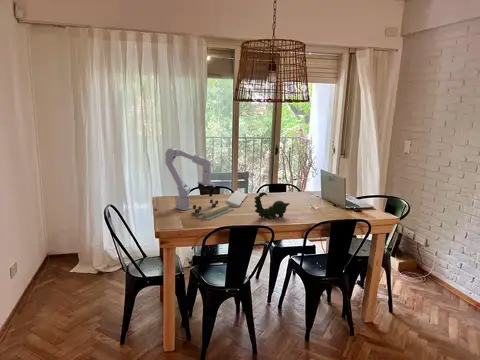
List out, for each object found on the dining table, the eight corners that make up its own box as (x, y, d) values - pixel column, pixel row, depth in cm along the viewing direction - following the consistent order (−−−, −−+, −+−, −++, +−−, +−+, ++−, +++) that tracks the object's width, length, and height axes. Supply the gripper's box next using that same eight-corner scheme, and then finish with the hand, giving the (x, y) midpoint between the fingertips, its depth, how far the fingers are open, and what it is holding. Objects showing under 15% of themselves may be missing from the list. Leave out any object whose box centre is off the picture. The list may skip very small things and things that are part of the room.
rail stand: (191, 214, 239) (191, 205, 238) (212, 206, 259) (212, 198, 258) (198, 216, 236) (198, 207, 235) (219, 208, 256) (219, 200, 255)
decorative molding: (245, 199, 294) (234, 195, 295) (247, 194, 293) (236, 190, 294) (237, 211, 261) (224, 206, 262) (239, 205, 260) (226, 200, 261)
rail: (202, 217, 233) (202, 212, 232) (225, 208, 254) (225, 204, 254) (206, 217, 231) (206, 213, 231) (228, 209, 253) (228, 204, 252)
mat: (197, 217, 233) (197, 216, 233) (223, 207, 258) (223, 206, 258) (207, 220, 228) (207, 219, 228) (233, 209, 253) (233, 209, 253)
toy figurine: (258, 223, 232) (293, 217, 239) (257, 195, 227) (292, 190, 235) (253, 218, 240) (286, 213, 248) (252, 191, 236) (286, 186, 244)
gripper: (218, 177, 246) (218, 196, 249) (202, 174, 253) (201, 192, 256) (212, 178, 240) (212, 198, 243) (195, 175, 248) (195, 194, 250)
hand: (206, 195), depth 249 cm, fingers open, 7 cm apart
